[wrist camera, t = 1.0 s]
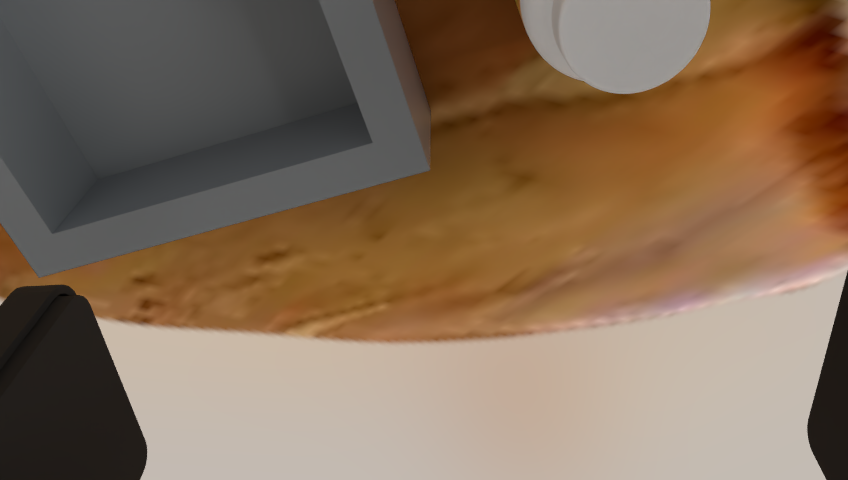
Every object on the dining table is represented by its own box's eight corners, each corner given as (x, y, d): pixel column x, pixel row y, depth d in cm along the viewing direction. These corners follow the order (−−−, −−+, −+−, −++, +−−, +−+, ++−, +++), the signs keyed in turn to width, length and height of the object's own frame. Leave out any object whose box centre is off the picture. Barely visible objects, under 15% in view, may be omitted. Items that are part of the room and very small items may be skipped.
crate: (315, -243, 25) (287, -247, 20) (430, 111, 31) (430, 170, 26) (-91, -88, 27) (-200, -60, 23) (93, 208, 34) (38, 277, 29)
